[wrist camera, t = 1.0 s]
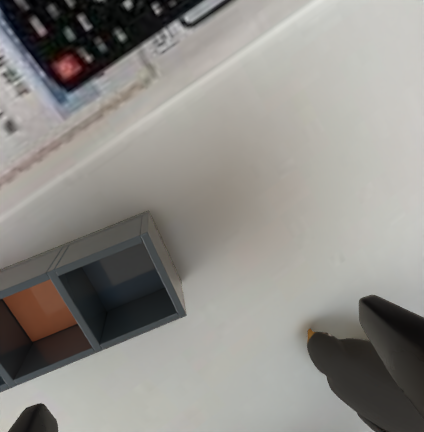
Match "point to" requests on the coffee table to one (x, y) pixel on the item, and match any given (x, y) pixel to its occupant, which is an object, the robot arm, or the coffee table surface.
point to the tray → (85, 298)
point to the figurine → (363, 382)
